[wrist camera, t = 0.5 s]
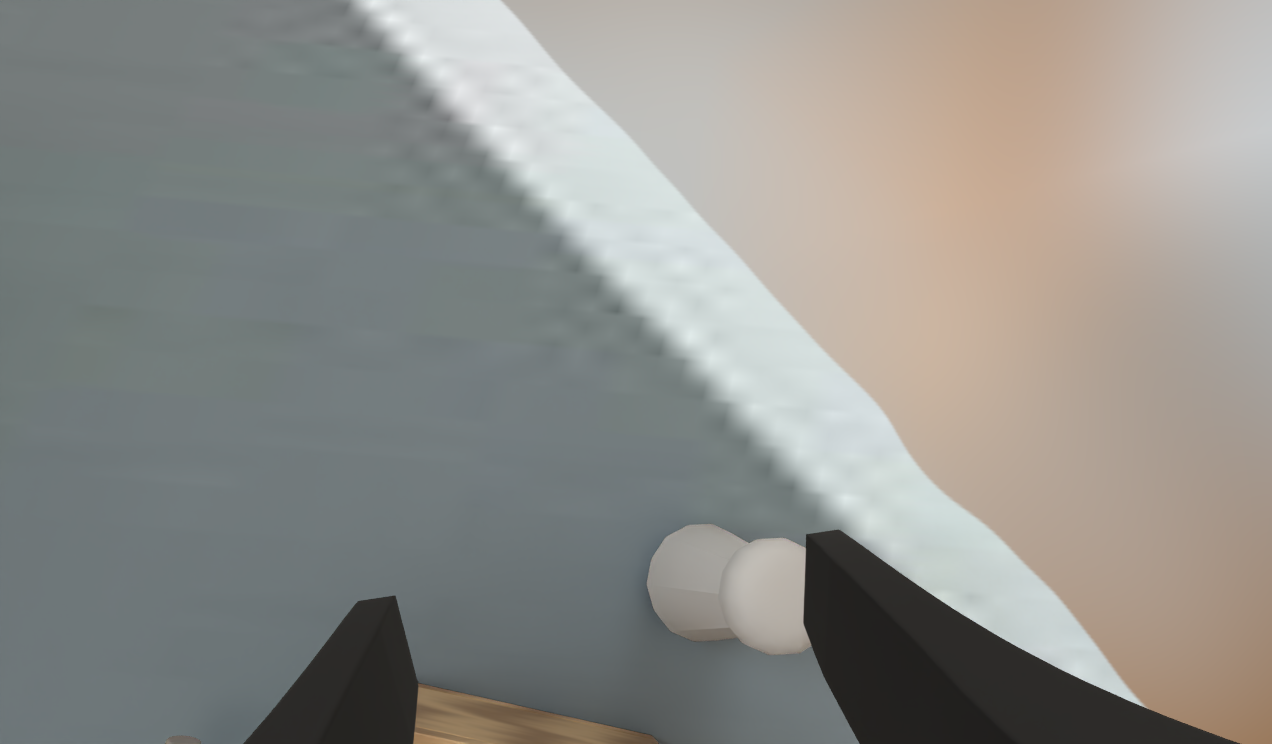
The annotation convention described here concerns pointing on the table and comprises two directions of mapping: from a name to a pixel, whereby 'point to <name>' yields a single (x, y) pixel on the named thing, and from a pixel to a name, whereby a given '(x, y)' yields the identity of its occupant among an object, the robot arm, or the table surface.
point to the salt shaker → (731, 589)
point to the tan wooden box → (504, 723)
